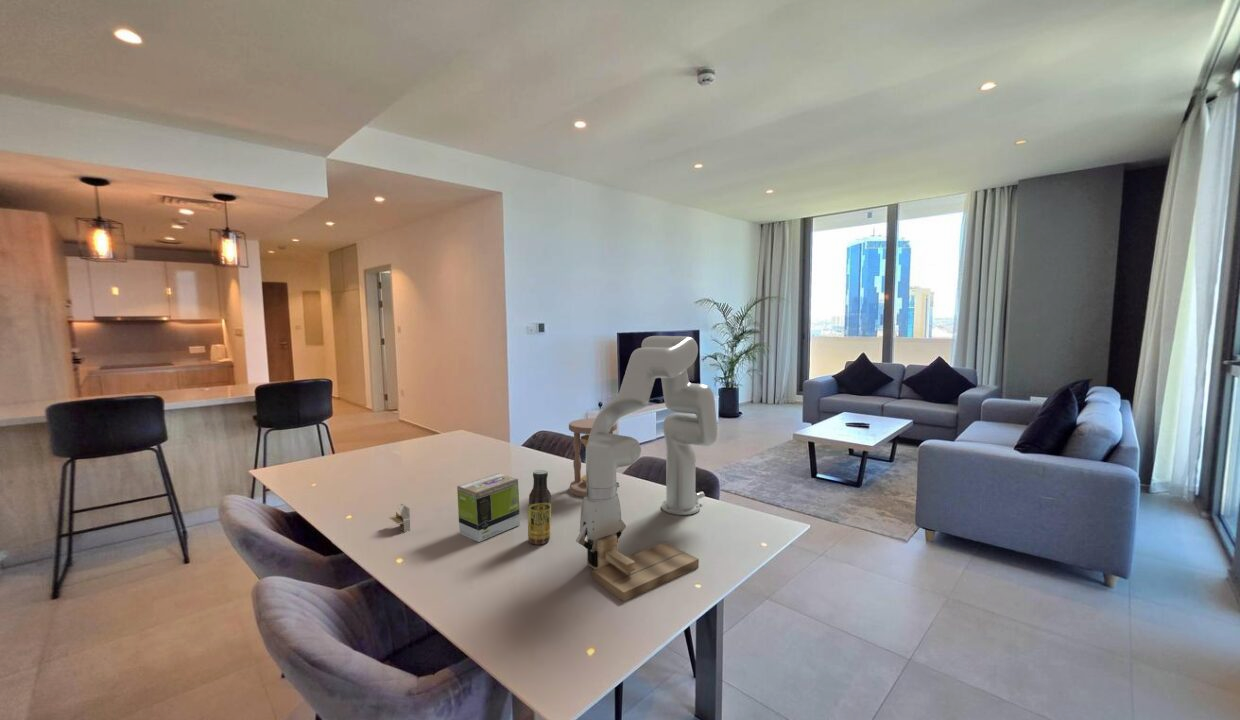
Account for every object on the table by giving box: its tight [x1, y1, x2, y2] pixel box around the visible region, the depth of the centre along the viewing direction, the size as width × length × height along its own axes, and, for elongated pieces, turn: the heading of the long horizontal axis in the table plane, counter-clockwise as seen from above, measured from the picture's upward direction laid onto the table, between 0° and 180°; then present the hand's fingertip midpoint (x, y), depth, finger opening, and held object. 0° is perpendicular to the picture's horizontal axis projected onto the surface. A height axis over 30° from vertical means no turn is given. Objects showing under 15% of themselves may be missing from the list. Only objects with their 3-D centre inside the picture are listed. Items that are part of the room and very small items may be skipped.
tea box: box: [456, 473, 521, 543], centre depth 142 cm, size 15×10×15 cm, turn 141°
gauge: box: [586, 534, 635, 574], centre depth 117 cm, size 5×14×8 cm, turn 38°
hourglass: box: [568, 417, 618, 498], centre depth 176 cm, size 18×18×25 cm
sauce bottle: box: [527, 469, 552, 546], centre depth 134 cm, size 7×6×20 cm
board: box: [592, 541, 700, 602], centre depth 117 cm, size 24×12×2 cm, turn 128°
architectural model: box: [388, 502, 411, 533], centre depth 143 cm, size 3×7×7 cm, turn 47°
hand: (602, 560), depth 120 cm, fingers closed on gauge, 5 cm apart
